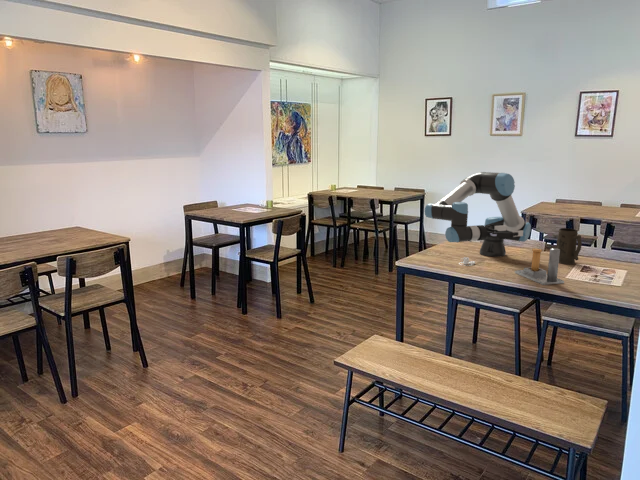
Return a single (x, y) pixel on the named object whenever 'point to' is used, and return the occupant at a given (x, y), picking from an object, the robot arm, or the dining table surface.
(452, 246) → the dining table surface
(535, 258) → the orange cylinder
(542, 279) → the grey upright stand
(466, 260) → the teacup and saucer
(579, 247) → the beer stein
